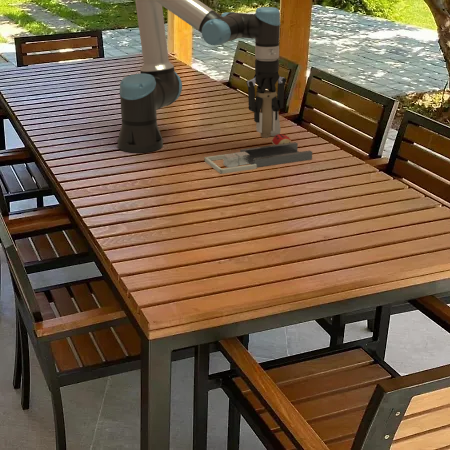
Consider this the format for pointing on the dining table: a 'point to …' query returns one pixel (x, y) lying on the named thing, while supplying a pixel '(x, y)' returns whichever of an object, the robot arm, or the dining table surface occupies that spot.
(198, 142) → the dining table surface
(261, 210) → the dining table surface
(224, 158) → the pale grey cube
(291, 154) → the rail
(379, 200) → the dining table surface
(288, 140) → the ladybug figurine
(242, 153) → the pale beige cube
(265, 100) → the handle
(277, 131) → the salt shaker
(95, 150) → the dining table surface
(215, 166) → the tray
